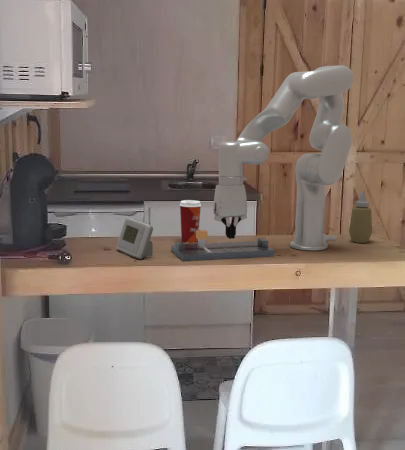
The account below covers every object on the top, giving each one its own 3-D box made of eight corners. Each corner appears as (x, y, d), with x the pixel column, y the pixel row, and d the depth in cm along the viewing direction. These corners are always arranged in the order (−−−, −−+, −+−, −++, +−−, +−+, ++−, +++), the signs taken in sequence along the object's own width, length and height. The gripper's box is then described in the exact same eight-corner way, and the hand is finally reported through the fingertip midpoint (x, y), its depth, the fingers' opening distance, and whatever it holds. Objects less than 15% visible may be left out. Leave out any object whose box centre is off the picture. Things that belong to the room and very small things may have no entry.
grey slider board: (257, 246, 223) (257, 235, 222) (273, 256, 210) (274, 243, 209) (171, 250, 214) (171, 238, 213) (182, 261, 201) (183, 248, 200)
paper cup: (198, 244, 225) (199, 203, 222) (176, 242, 226) (176, 202, 223) (202, 239, 232) (203, 200, 229) (181, 238, 234) (182, 199, 231)
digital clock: (115, 249, 214) (115, 217, 212) (142, 248, 218) (142, 216, 216) (128, 261, 200) (128, 226, 198) (157, 259, 203) (157, 225, 201)
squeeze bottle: (373, 244, 230) (377, 193, 227) (350, 243, 230) (353, 192, 227) (368, 239, 238) (371, 190, 235) (346, 239, 238) (349, 189, 235)
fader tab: (204, 246, 211) (205, 229, 210) (207, 247, 209) (207, 231, 208) (195, 246, 210) (196, 230, 209) (198, 248, 208) (198, 231, 207)
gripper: (248, 178, 214) (248, 233, 217) (204, 180, 209) (204, 237, 213) (257, 181, 207) (256, 238, 210) (211, 183, 202) (212, 242, 206)
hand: (230, 237), depth 212 cm, fingers closed
